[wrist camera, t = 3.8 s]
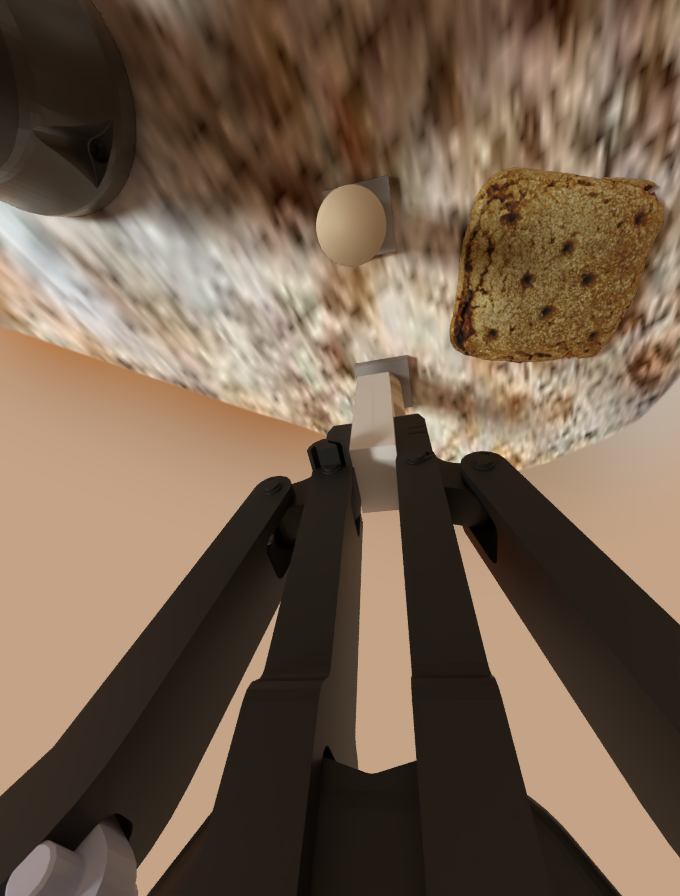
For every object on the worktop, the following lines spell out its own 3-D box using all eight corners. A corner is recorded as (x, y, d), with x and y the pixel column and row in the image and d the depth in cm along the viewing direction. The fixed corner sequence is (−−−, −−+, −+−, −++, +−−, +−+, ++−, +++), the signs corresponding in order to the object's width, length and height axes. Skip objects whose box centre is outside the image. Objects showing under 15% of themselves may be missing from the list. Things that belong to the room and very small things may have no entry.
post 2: (363, 409, 38) (358, 505, 26) (354, 363, 36) (344, 445, 23) (411, 402, 37) (431, 498, 25) (406, 355, 35) (425, 435, 22)
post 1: (336, 262, 31) (311, 295, 18) (323, 192, 28) (283, 174, 16) (395, 249, 30) (411, 275, 18) (387, 176, 28) (400, 143, 15)
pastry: (689, 284, 30) (718, 290, 28) (497, 405, 37) (506, 419, 35) (603, 71, 24) (630, 54, 22) (393, 265, 31) (395, 270, 29)
